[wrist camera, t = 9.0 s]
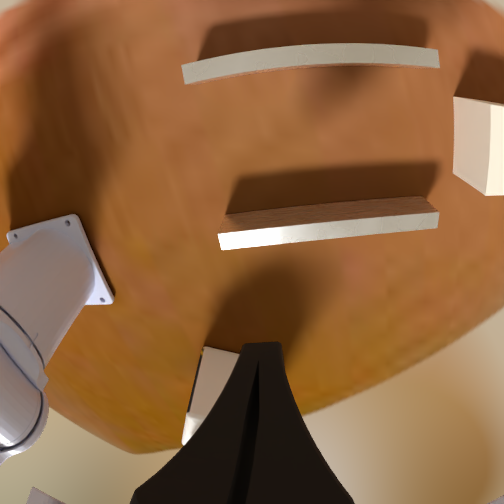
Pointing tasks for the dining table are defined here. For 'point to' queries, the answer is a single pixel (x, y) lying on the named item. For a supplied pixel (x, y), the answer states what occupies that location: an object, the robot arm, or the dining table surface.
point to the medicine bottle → (207, 386)
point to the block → (479, 144)
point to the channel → (329, 214)
